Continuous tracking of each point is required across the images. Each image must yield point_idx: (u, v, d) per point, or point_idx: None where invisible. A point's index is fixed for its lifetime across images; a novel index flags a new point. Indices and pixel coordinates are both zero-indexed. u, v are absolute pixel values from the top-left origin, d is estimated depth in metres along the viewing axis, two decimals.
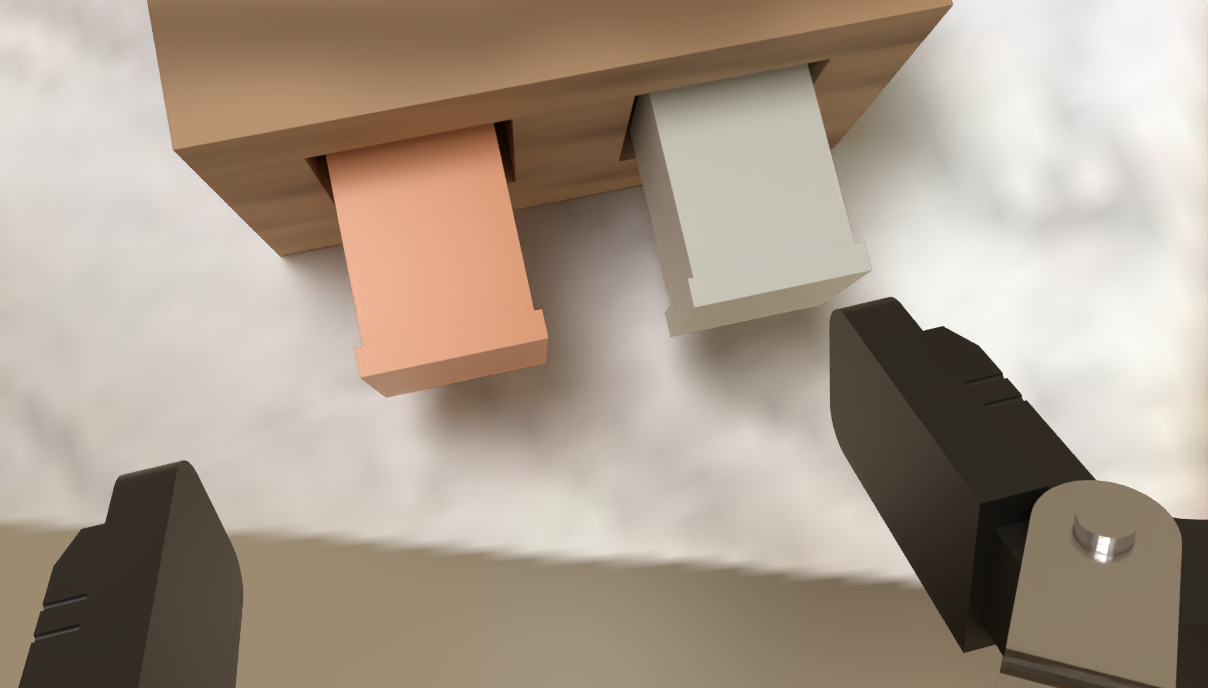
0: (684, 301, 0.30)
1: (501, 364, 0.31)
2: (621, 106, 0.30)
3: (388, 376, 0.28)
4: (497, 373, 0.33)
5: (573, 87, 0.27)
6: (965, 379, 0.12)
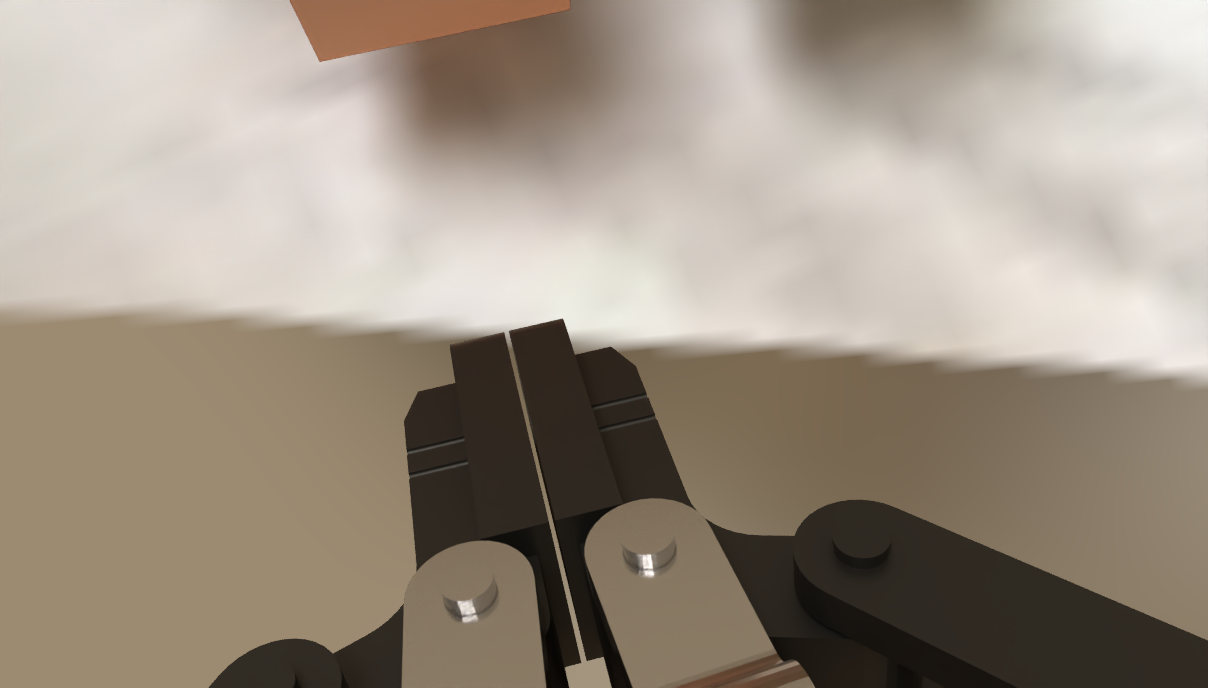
0: None
1: None
2: None
3: None
4: (494, 23, 0.21)
5: None
6: (610, 399, 0.12)
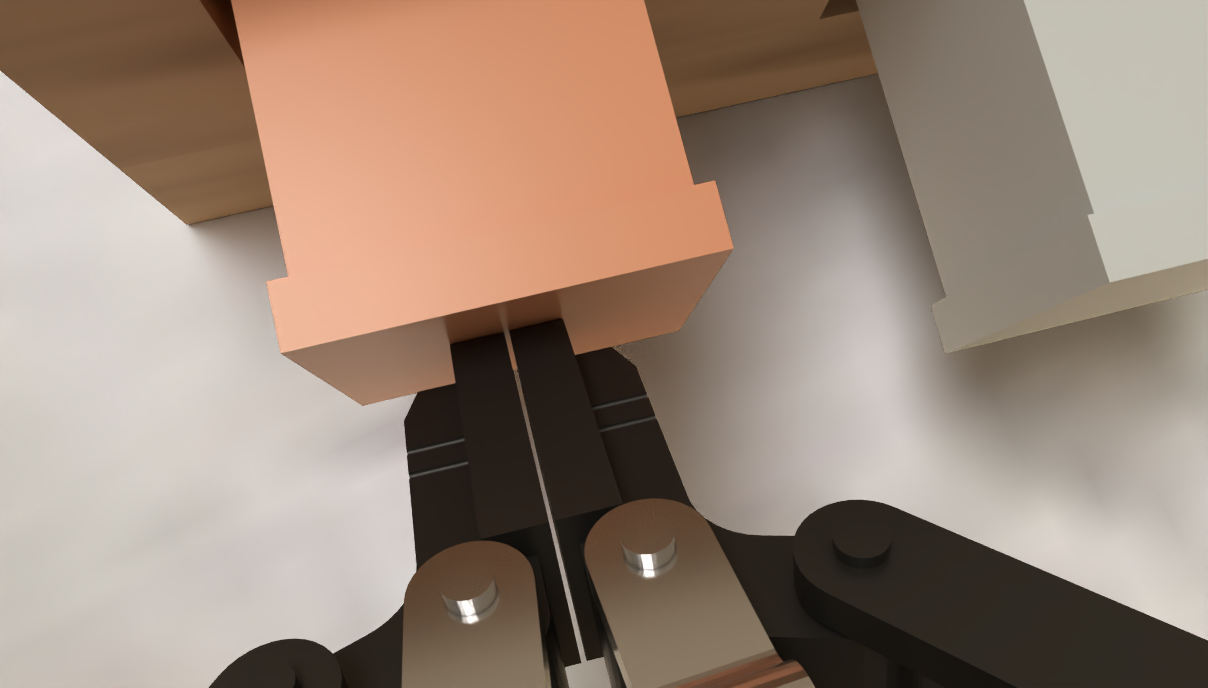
0: (1048, 273, 0.13)
1: (601, 328, 0.15)
2: None
3: (354, 352, 0.12)
4: (584, 352, 0.16)
5: None
6: (610, 399, 0.12)
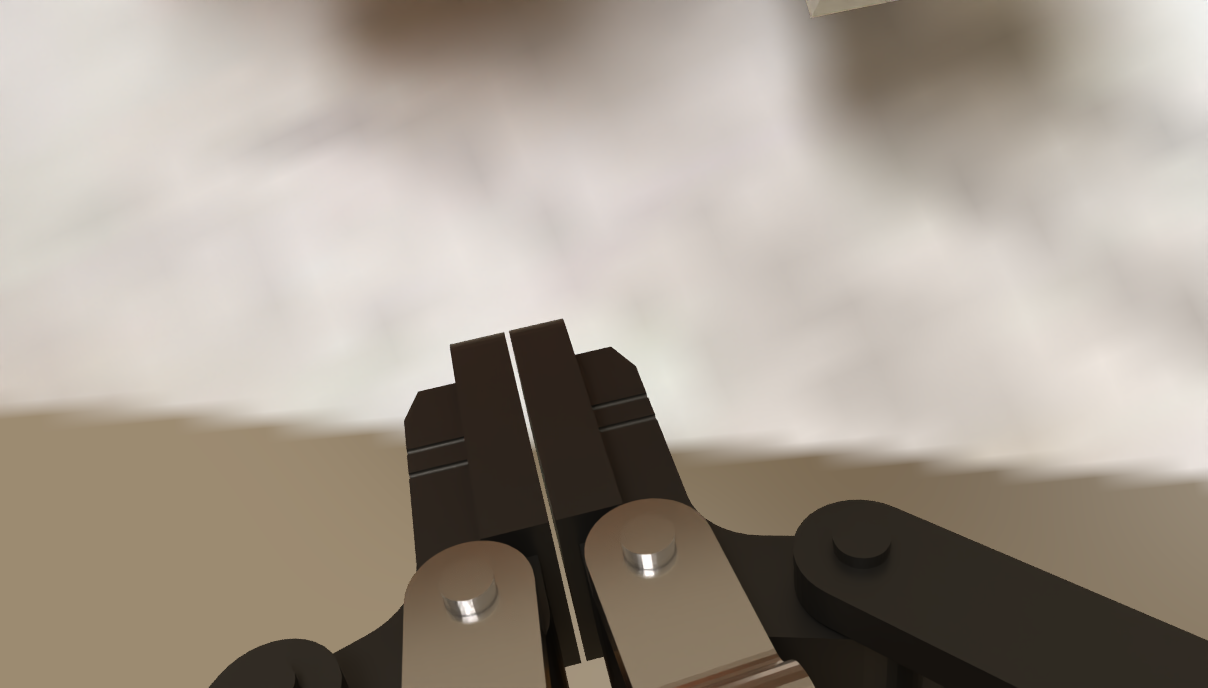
0: None
1: None
2: None
3: None
4: None
5: None
6: (610, 398, 0.12)
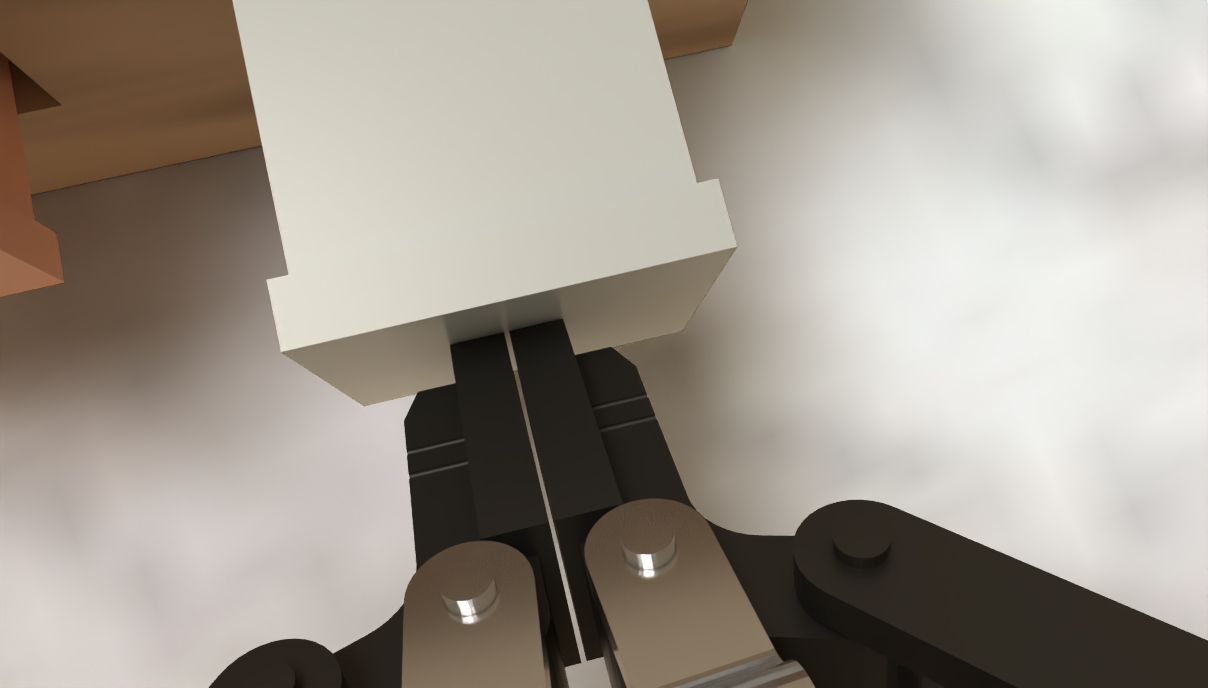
0: None
1: None
2: None
3: None
4: None
5: None
6: (610, 398, 0.12)
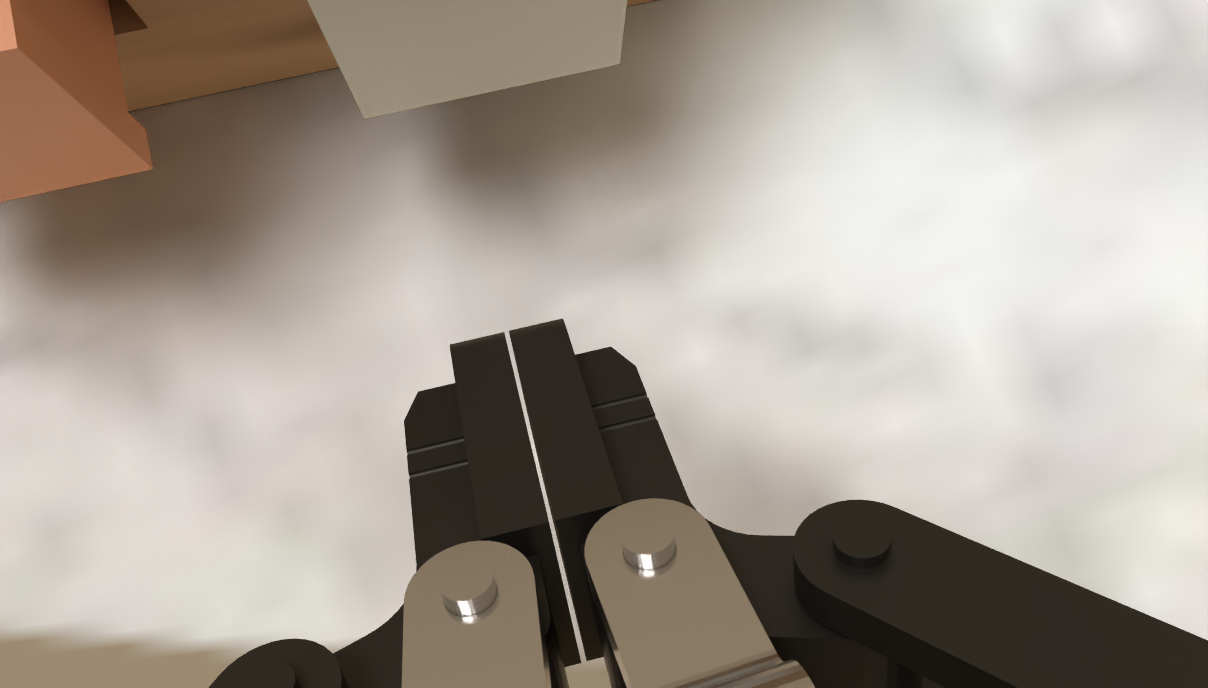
0: None
1: (29, 148, 0.18)
2: None
3: None
4: (68, 185, 0.20)
5: None
6: (610, 398, 0.12)
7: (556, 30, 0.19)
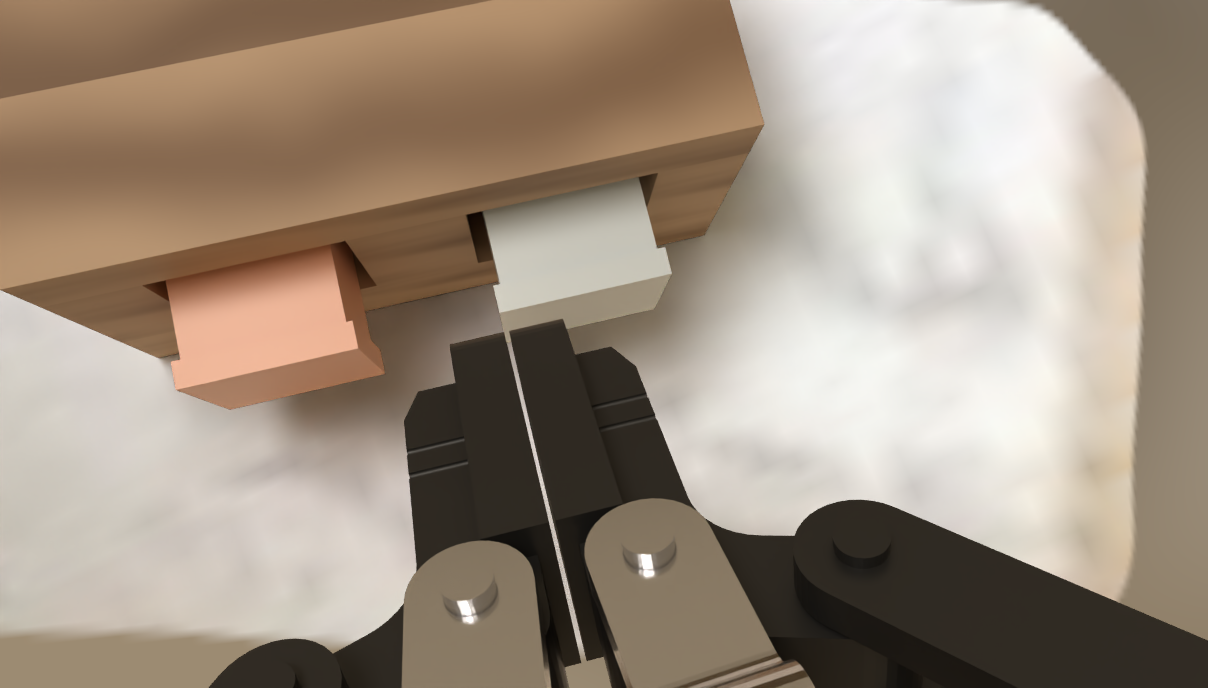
0: None
1: (331, 375, 0.32)
2: (456, 223, 0.30)
3: (209, 388, 0.30)
4: (337, 384, 0.34)
5: (396, 213, 0.28)
6: (610, 399, 0.12)
7: (622, 305, 0.33)
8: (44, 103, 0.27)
